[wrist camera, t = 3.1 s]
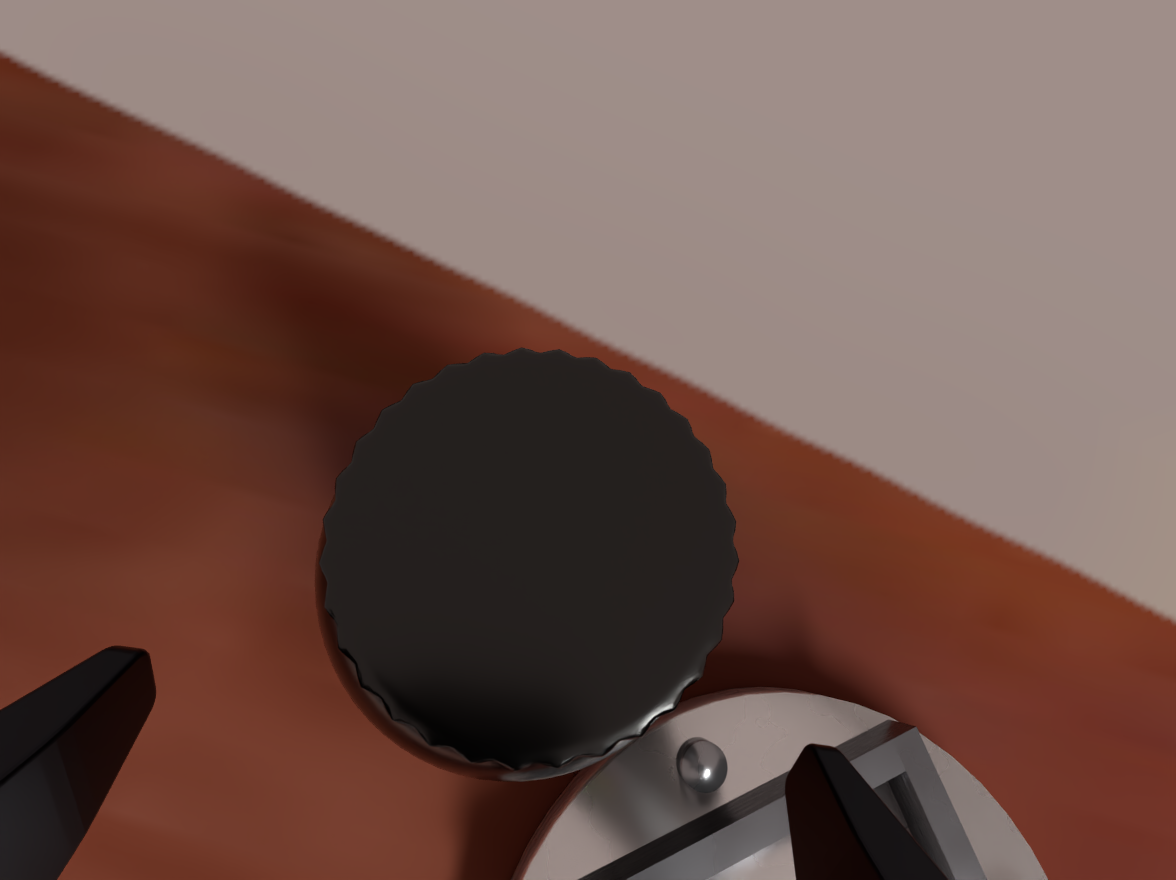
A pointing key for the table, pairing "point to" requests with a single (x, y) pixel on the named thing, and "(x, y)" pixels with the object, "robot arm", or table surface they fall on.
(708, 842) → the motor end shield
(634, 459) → the supplement bottle
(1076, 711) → the table surface
